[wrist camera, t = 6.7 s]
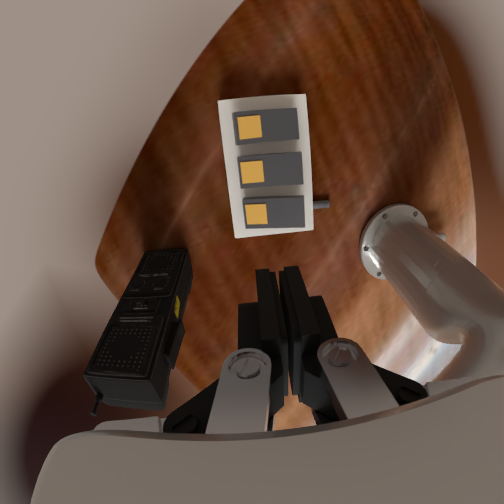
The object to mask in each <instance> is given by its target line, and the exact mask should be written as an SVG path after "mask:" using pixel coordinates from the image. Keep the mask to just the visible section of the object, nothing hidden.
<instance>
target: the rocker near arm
mask: <svg viewBox="0 0 504 504" xmlns="http://www.w3.org/2000/svg"><path fill="white" fill-rule="evenodd" d="M242 203H243V211H244V220H245V228H246V229H259V228H305V205H304V195H288V196H261V197H244V198H243V199H242Z"/></svg>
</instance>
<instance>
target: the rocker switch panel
mask: <svg viewBox="0 0 504 504" xmlns="http://www.w3.org/2000/svg"><path fill="white" fill-rule="evenodd" d="M279 108H297V115H298V126H299V139H294V140H282V141H272V142H262V143H253V144H245V145H235V136H234V128H233V119H232V113H233V112H240V111H251V110H263V109H279ZM218 109H219V117H220V125H221V133H222V142H223V150H224V158H225V165H226V173H227V181H228V189H229V196H230V204H231V211H232V219H233V226H234V234H235V238H242V237H251V236H260V235H270V234H279V233H288V232H298V231H308V230H313V209H318V208H328V207H329V206H330V202H329V201H328V200H324V201H313V196H312V173H311V155H310V140H309V126H308V114H307V103H306V94H289V95H270V96H257V97H246V98H237V99H228V100H220V101H218ZM299 151H301V152H302V164H303V181H304V184H302V185H285V186H270V187H256V188H244V189H241V188H240V179H239V171H238V162H237V157H238V156H244V155H255V154H267V153H282V152H299ZM288 195H304V205H305V228H259V229H246V228H245V220H244V211H243V203H242V199H243V198H244V197H261V196H288Z"/></svg>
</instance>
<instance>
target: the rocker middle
mask: <svg viewBox="0 0 504 504" xmlns="http://www.w3.org/2000/svg"><path fill="white" fill-rule="evenodd" d="M237 162H238V171H239V179H240V188H241V189H244V188H256V187H270V186H285V185H302V184H304V181H303V164H302V152H301V151H299V152H282V153H267V154H255V155H244V156H238V157H237Z"/></svg>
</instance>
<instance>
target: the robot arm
mask: <svg viewBox="0 0 504 504" xmlns="http://www.w3.org/2000/svg"><path fill="white" fill-rule="evenodd" d="M383 214H384V215H383ZM445 240H446V235H445V233H437V234H436V233H434V232H433V231H432V230H430V229H429V227H428V224H427V221H426V219H425V217H424V215H423V214H422V213H421V212H420V211H419V210H418V209H416V208H415V207H413V206H411V205H408V204H403V203H399V204H392V205H389V206H387V207H385V208H383V209H381V210H380V211H378V212H377V213H376V214H375V215H374V216H373V217H372V218H371V219H370V220H369V222H368V223H367V225H366V226H365V228H364V230H363V233H362V235H361V239H360V245H359V254H360V258H361V262H362V264H363V265H364V267H365V268H366V270H367V271H368V272H369V273H370V274H371V275H372V276H374V277H376V278H378V279H382V280H388V282H389V283H390V284H391V285H392V287H393V288H394V289H395V291H396V292H397V293H398V295H399V296H400V297H401V299H402V300H403V301H404V303H405V304H406V305H407V307H408V308H409V309H410V311H411V312H412V313H413V315H414V316H415V318H416V319H417V320H418V322H419V323H420V325H421V326H422V327H423V329H424V330H425V331H426V333H427V334H428V335H429V336H430V337H432V338H433V339H435V340H437V341H439V342H442V343H447V344H462V346H461V348H460V350H459V351H458V352H457V354H456V355H455V356H454V357H453V359H452V360H451V362H450V363H449V364H448V365H447V366H446V367H445V368H444V369H443V370H442V371H441V373H440V374H439V375H438V376H437V377H436V378H435V379H434V380H433V381H432V382H426V384H425V385H423V386H422V385H421V384H420V383H418V382H416V381H414V380H411V379H408V378H406V377H403V376H401V375H398V374H396V373H393V372H391V371H388V370H386V369H384V368H381V367H379V366H376V365H374V364H372V363H371V362H370V360H369V359H368V357H367V356H366V354H365V353H364V351H363V350H362V348H361V347H360V346H359V345H358V344H357V343H356V342H354V341H352V340H350V339H346V338H338V336H337V333H336V331H335V328H334V326H333V323H332V320H331V318H330V315H329V313H328V310H327V308H326V305H325V303H324V300H323V298H322V296H312V297H309V296H308V293H307V290H306V287H305V284H304V281H303V279H302V276H301V273H300V270H299V267H298V266H289V267H284V271H279V286H280V295H279V290H278V285H277V280H276V275H275V272H270V271H269V269H258V270H255V271H256V283H257V295H258V302H254V303H242V304H239V305H238V350H237V351H235V352H233V353H231V354H230V355H229V356H228V357H227V358H226V359H225V361H224V364H223V367H222V371H221V375H220V378H219V379H217V380H216V381H215V382H213V383H212V384H211V385H209V386H208V387H207V388H205V389H204V390H203V391H201V392H200V393H199V394H197V395H196V396H194V397H193V398H192V399H190V400H189V401H187V402H186V403H185V404H183V405H182V406H180V407H179V408H177V409H176V410H175V411H173V412H172V413H171V414H170V415H168V416H167V418H163V419H159V417H158V416H156V417H149V418H140V419H130V420H119V421H107V422H103V423H101V424H99V425H98V426H96V428H95V429H94V430H93V431H87V432H82V433H77V434H74V435H70V436H67V437H65V438H63V439H61V440H60V441H59V442H57V443H56V444H55V446H54V447H53V448H52V450H51V451H50V453H49V454H48V456H47V458H46V460H45V462H44V464H43V467H42V469H41V472H40V474H39V477H38V480H37V483H36V487H35V489H34V493H33V496H32V500H31V504H504V289H502V288H501V287H500V286H498V285H497V284H496V283H495V282H494V281H492V280H491V279H490V278H489V277H487V276H486V275H485V274H484V273H483V272H481V271H480V270H479V269H478V268H477V267H476V266H474V265H473V264H472V263H471V262H469V261H468V260H467V259H466V258H465V257H463V256H462V255H461V254H460V253H458V252H457V251H456V250H455V249H453V248H452V247H451V246H450V245H448V244H447V243H446V242H444V241H445ZM288 371H289V377H290V383H291V390H292V395H298V398H299V403H300V402H302V403H304V404H305V405H307V406H309V407H311V411H312V415H313V417H314V420H315V422H316V425H315V426H308V427H301V428H294V429H285V430H276V431H274V422H275V414H276V413H277V412H278V411H279V410H280V409H281V408H282V407H283V406H284V396H288Z"/></svg>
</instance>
